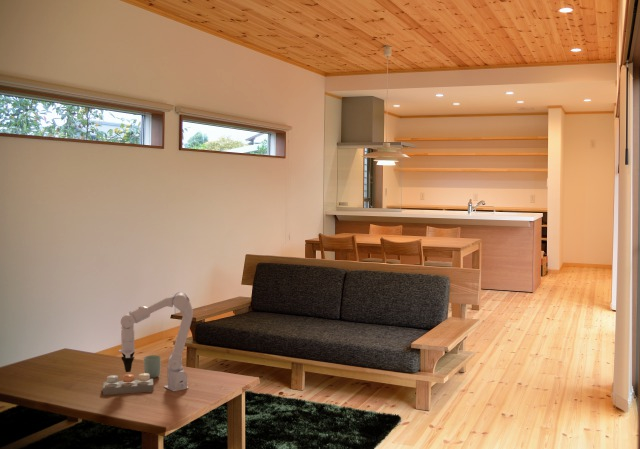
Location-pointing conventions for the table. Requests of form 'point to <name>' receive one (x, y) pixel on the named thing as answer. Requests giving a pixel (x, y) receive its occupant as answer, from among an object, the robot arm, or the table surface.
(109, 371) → the table surface
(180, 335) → the robot arm
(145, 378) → the cream button
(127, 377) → the terracotta button
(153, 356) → the cup
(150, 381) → the console
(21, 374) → the table surface
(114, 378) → the light grey button
